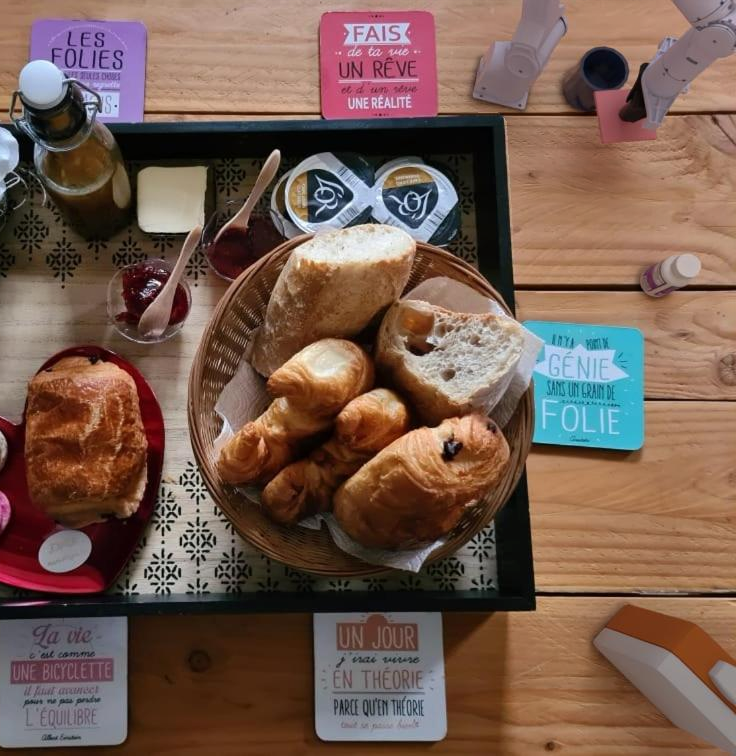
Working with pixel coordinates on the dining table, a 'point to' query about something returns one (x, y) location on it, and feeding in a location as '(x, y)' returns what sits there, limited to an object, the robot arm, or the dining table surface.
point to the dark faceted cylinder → (595, 77)
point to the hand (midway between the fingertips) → (630, 110)
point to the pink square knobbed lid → (618, 118)
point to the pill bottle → (670, 274)
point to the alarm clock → (676, 671)
